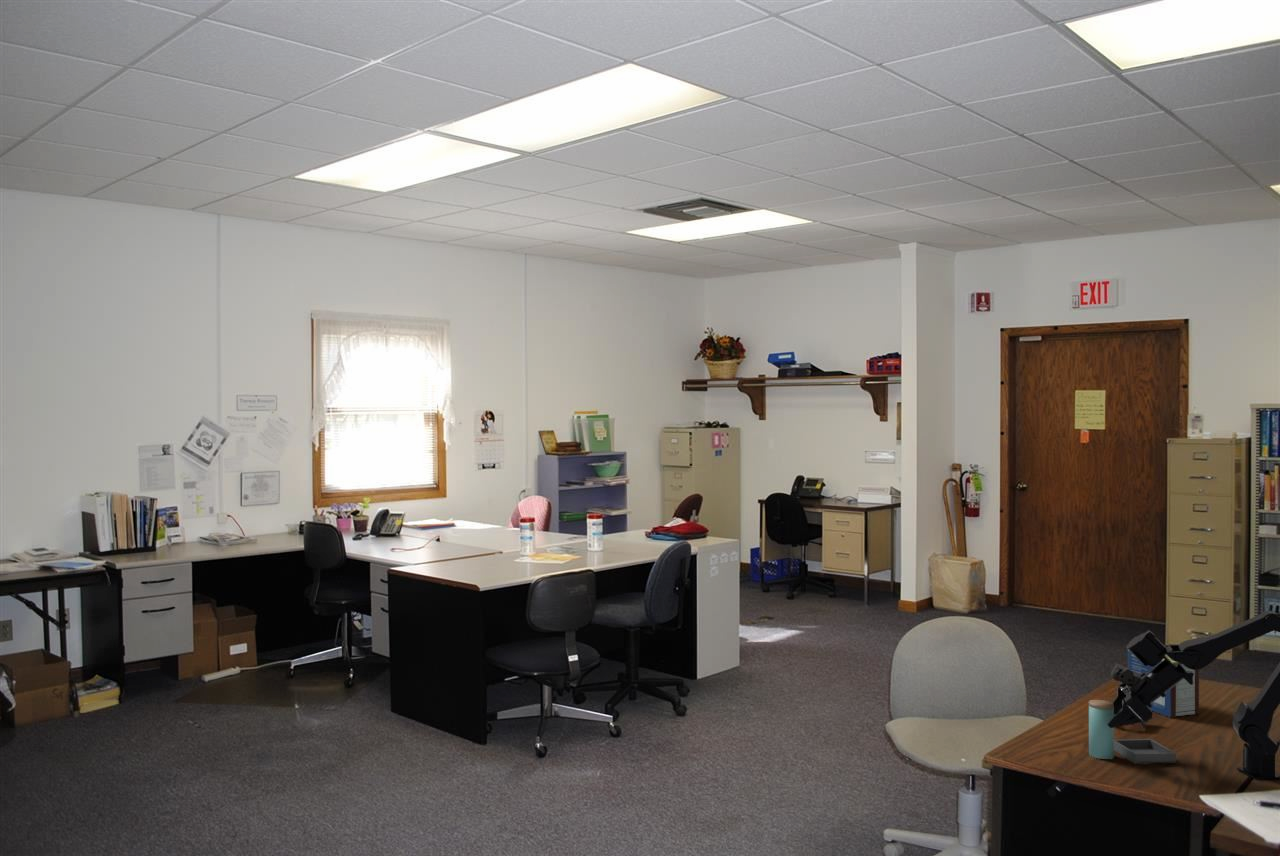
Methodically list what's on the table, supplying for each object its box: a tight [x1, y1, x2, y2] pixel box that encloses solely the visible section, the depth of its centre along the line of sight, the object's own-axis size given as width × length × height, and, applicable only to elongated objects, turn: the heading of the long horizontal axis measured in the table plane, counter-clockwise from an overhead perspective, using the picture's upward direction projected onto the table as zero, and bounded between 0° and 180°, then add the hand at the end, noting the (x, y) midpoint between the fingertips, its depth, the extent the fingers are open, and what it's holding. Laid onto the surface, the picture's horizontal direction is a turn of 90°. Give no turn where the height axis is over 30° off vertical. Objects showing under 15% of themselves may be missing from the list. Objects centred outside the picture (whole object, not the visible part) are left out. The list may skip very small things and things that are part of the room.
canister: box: [1088, 699, 1115, 760], centre depth 235 cm, size 6×6×13 cm
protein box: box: [1127, 649, 1200, 718], centre depth 274 cm, size 10×15×16 cm
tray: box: [1114, 738, 1177, 765], centre depth 235 cm, size 10×10×2 cm
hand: (1107, 720), depth 235 cm, fingers open, 9 cm apart
